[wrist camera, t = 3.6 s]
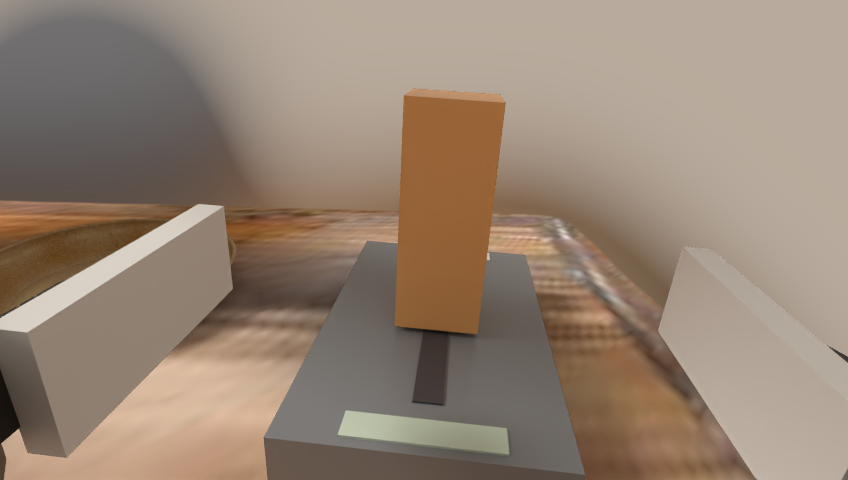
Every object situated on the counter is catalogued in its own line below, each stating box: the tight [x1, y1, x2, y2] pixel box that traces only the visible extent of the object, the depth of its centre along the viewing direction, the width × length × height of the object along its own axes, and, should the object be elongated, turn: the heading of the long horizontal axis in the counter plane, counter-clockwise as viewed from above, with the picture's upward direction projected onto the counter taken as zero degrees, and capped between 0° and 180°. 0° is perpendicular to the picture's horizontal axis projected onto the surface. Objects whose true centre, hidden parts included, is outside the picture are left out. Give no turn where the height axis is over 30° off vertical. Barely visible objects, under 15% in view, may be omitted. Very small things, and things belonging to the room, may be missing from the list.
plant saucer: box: [0, 219, 237, 315], centre depth 30 cm, size 15×15×3 cm
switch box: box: [264, 241, 585, 480], centre depth 28 cm, size 25×11×3 cm, turn 175°
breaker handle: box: [395, 89, 506, 334], centre depth 22 cm, size 4×4×11 cm
